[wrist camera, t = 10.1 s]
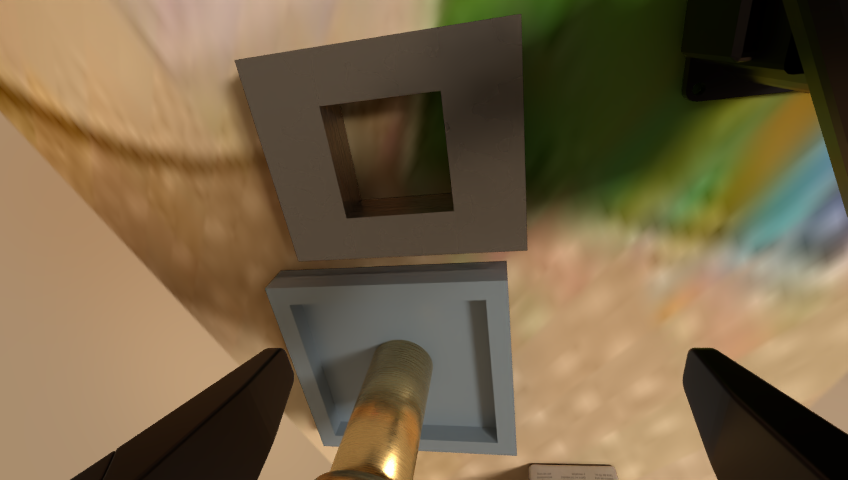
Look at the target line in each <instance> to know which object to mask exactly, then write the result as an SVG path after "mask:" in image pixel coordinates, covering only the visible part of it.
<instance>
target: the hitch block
mask: <svg viewBox="0 0 848 480" xmlns="http://www.w3.org/2000/svg"><path fill="white" fill-rule="evenodd" d="M235 63H236V67H237V70H238V73H239V76H240V79H241V82H242V85H243V88H244V92H245V95H246V98H247V101H248V104H249V107H250V110H251V114H252V117H253V120H254V123H255V126H256V129H257V132H258V136H259V139H260V142H261V145H262V148H263V151H264V154H265V157H266V161H267V164H268V167H269V170H270V173H271V176H272V179H273V183H274V186H275V189H276V192H277V195H278V198H279V201H280V205H281V208H282V211H283V214H284V217H285V220H286V223H287V226H288V230H289V233H290V236H291V239H292V242H293V245H294V248H295V252H296V255H297V258H298V261H316V260H337V259H358V258H379V257H400V256H421V255H442V254H463V253H484V252H505V251H526V250H527V218H526V179H525V141H524V103H523V64H522V26H521V14H517V15H511V16H505V17H499V18H492V19H486V20H480V21H474V22H468V23H461V24H455V25H449V26H443V27H437V28H431V29H424V30H418V31H412V32H406V33H400V34H393V35H387V36H381V37H375V38H369V39H363V40H356V41H350V42H344V43H338V44H332V45H325V46H319V47H313V48H307V49H301V50H294V51H288V52H282V53H276V54H270V55H264V56H257V57H251V58H245V59H239V60H235ZM434 91H441V98H442V107H443V116H444V125H445V134H446V143H447V152H448V161H449V169H450V178H451V187H452V193H446V194H433V195H420V196H407V197H394V198H382V199H369V200H361V197H360V193H359V188H358V184H357V179H356V175H355V170H354V166H353V161H352V157H351V152H350V148H349V143H348V139H347V134H346V130H345V125H344V121H343V116H342V112H341V107H340V104H341V103H349V102H357V101H365V100H372V99H380V98H388V97H395V96H403V95H411V94H419V93H426V92H434Z"/></svg>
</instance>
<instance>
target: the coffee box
mask: <svg viewBox="0 0 848 480" xmlns="http://www.w3.org/2000/svg"><path fill="white" fill-rule="evenodd" d="M529 480H618V477H617V473H616V469H615V468H614V467H612V466H581V465H540V464H532V465H530V466H529Z"/></svg>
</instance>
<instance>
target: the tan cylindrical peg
mask: <svg viewBox="0 0 848 480" xmlns="http://www.w3.org/2000/svg"><path fill="white" fill-rule="evenodd" d="M432 371H433V363H432V359H431V357H430V356H429V354H428V353H427V352H426V351H425V350H424V349H423V348H422V347H420V346H419V345H417V344H415V343H413V342H410V341H406V340H390V341H387V342H384V343H383V344H381V345H380V346H379V347H378V348H377V349H376V350H375V352H374V355H373V358H372V360H371V363H370V366H369V368H368V371H367V374H366V376H365V379H364V382H363V384H362V387H361V390H360V392H359V395H358V398H357V400H356V403H355V406H354V408H353V411H352V414H351V416H350V419H349V422H348V424H347V427H346V430H345V432H344V435H343V438H342V440H341V443H340V446H339V448H338V451H337V454H336V456H335V459H334V462H333V464H332V467H331V471H330V472H328V473H325V474H322V475H320V476H319V477H317V478H316V479H315V480H413V476H414V470H415V465H416V459H417V454H418V448H419V443H420V437H421V432H422V426H423V421H424V415H425V409H426V404H427V398H428V393H429V387H430V382H431V376H432Z"/></svg>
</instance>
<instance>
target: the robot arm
mask: <svg viewBox="0 0 848 480" xmlns="http://www.w3.org/2000/svg"><path fill="white" fill-rule="evenodd" d="M681 52H682V53H683V54H684V55H685V56H686V63H685V70H684V78H683V85H682V95H683V96H684V98H686V99H688V100H690V101H696V102H698V101H707V100H716V99H725V98H734V97H743V96H752V95H761V94H770V93H780V92H789V91H800V92H805V93H810V94H811V97H812V101H813V104H814V107H815V111H816V114H817V117H818V121H819V124H820V127H821V131H822V134H823V137H824V141H825V144H826V147H827V151H828V154H829V157H830V161H831V164H832V167H833V171H834V174H835V177H836V181H837V184H838V187H839V191H840V194H841V197H842V201H843V204H844V207H845V211H846V214H847V217H848V0H688V2H687V10H686V17H685V24H684V32H683V39H682V47H681ZM697 83H701V86H702V87H701V90H700V91H699V92H698V93H696V94H693V92H692V89H693V87H694V86H695V85H696V84H697ZM293 381H294V373H293V370H292V367H291V364H290V362H289V359H288V357H287V354H286V352H285V350H284V349H282V348H267V349H265V350H263V351H262V352H260V353H259V354H257V355H256V356H254V357H253V358H251V359H250V360H248V361H247V362H245V363H244V364H242V365H241V366H239V367H238V368H236V369H235V370H234V371H232V372H230V373H229V374H228V375H226V376H225V377H223V378H222V379H220V380H219V381H217V382H216V383H214V384H213V385H211V386H210V387H208V388H207V389H205V390H204V391H202V392H201V393H199V394H198V395H196V396H195V397H194V398H192V399H190V400H189V401H188V402H186V403H184V404H183V405H181V406H180V407H179V408H177V409H175V410H174V411H172V412H171V413H169V414H168V415H166V416H165V417H164V418H162V419H160V420H159V421H158V422H156V423H155V424H153V425H152V426H150V427H149V428H147V429H146V430H144V431H143V432H141V433H140V434H138V435H137V436H135V437H134V438H132V439H131V440H129V441H128V442H126V443H125V444H123V445H122V446H120V447H119V448H117V450H116V451H113V452H111V453H110V454H108V455H107V456H105V457H104V458H102V459H101V460H99V461H98V462H96V463H95V464H93V465H92V466H90V467H89V468H87V469H86V470H85V471H83V472H81V473H80V474H78V475H77V476H75V477H74V478H72V479H71V480H257V479H258V477H259V475H260V472H261V470H262V468H263V465H264V463H265V461H266V459H267V456H268V454H269V452H270V449H271V447H272V444H273V442H274V439H275V436H276V434H277V431H278V428H279V425H280V422H281V418H282V415H283V412H284V409H285V406H286V403H287V400H288V397H289V394H290V391H291V388H292V385H293ZM683 387H684V390H685V393H686V396H687V399H688V402H689V405H690V407H691V410H692V413H693V416H694V419H695V422H696V424H697V427H698V430H699V433H700V436H701V438H702V441H703V444H704V447H705V450H706V453H707V455H708V458H709V460H710V463H711V465H712V468H713V470H714V472H715V474H716V477H717V479H718V480H848V434H847V433H845V432H843V431H842V430H840V429H839V428H837V427H836V426H834V425H833V424H831V423H829V422H828V421H826V420H825V419H823V418H822V417H820V416H818V415H817V414H815V413H814V412H812V411H811V410H809V409H808V408H806V407H805V406H803V405H802V404H800V403H798V402H797V401H795V400H794V399H792V398H791V397H789V396H788V395H786V394H784V393H783V392H781V391H780V390H778V389H777V388H775V387H774V386H772V385H771V384H769V383H767V382H766V381H764V380H763V379H761V378H760V377H758V376H757V375H755V374H753V373H752V372H750V371H749V370H747V369H746V368H744V367H743V366H741V365H739V364H738V363H736V362H735V361H733V360H732V359H730V358H729V357H727V356H725V355H724V354H722V353H721V352H719V351H718V350H716V349H713V348H692V349H690V350H689V351H688V354H687V359H686V364H685V369H684V374H683Z"/></svg>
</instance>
